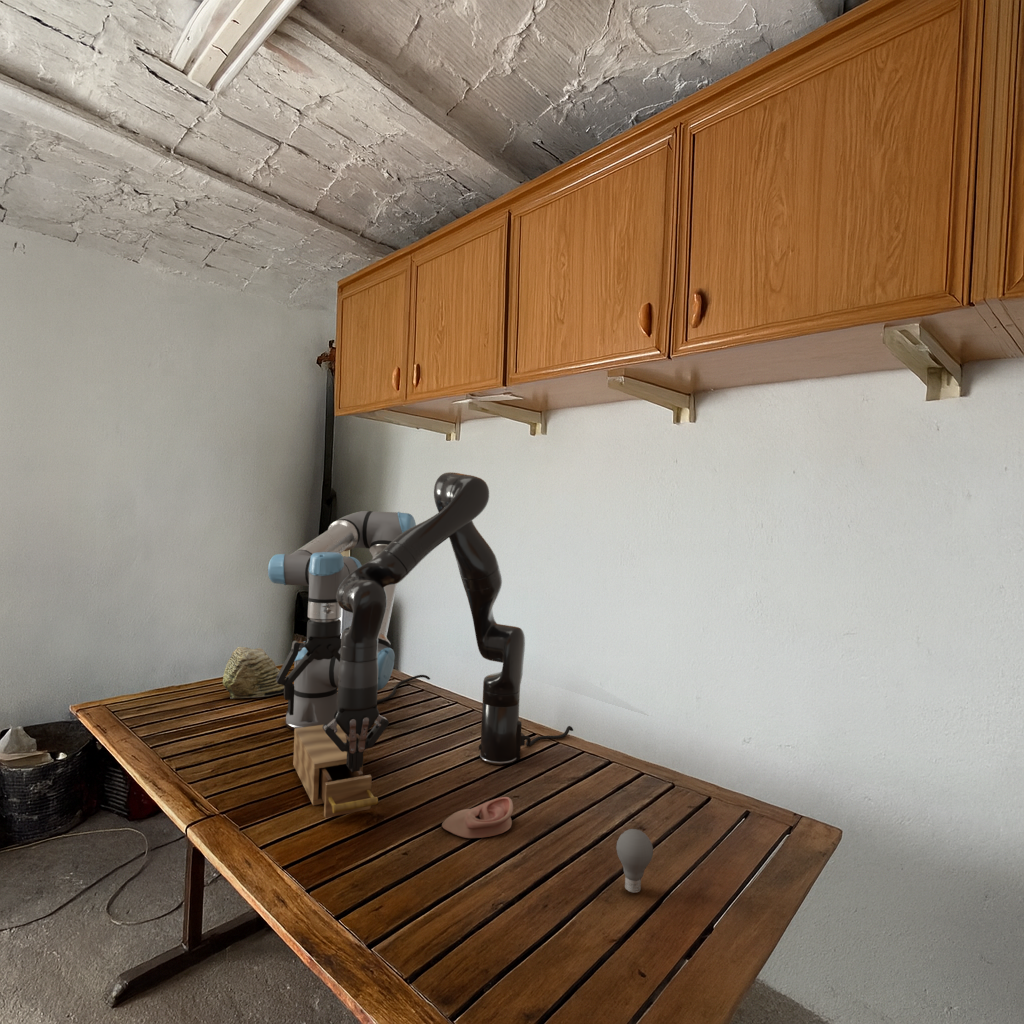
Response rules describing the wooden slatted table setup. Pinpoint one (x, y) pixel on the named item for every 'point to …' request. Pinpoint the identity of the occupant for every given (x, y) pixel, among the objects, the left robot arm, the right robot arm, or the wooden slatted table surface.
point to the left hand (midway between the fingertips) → (320, 709)
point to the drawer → (344, 790)
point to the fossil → (251, 674)
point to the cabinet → (316, 757)
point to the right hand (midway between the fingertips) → (354, 769)
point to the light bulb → (634, 857)
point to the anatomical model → (481, 819)
